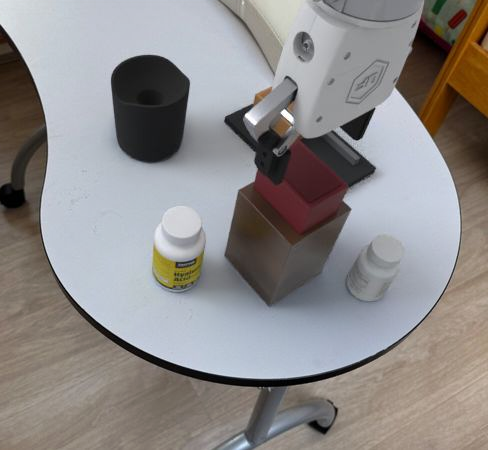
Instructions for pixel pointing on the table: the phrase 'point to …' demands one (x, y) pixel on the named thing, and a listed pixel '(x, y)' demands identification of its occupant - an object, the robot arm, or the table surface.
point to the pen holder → (149, 106)
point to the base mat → (316, 150)
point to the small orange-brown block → (283, 123)
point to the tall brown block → (277, 246)
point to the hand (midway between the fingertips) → (308, 151)
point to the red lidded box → (304, 189)
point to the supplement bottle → (178, 249)
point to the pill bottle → (375, 268)
